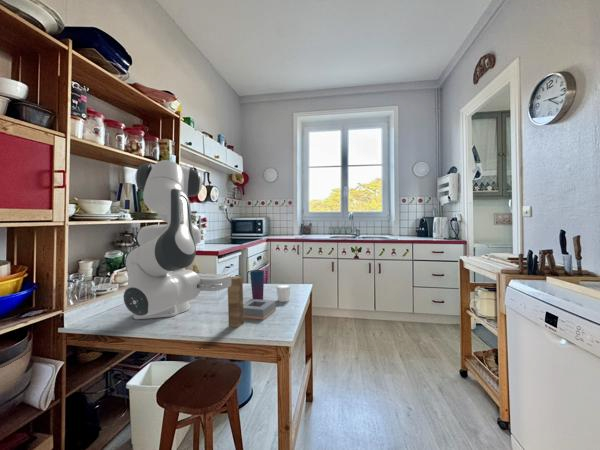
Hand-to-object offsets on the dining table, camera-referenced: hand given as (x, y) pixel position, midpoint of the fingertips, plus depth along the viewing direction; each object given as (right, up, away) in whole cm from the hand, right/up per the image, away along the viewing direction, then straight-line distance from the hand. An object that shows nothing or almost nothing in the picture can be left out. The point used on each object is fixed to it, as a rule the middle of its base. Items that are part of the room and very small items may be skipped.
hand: (214, 275), depth 89 cm
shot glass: (+21, -20, +42) cm, 51 cm away
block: (+4, -21, +12) cm, 25 cm away
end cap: (+10, -21, +24) cm, 33 cm away
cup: (+8, -21, +41) cm, 47 cm away
